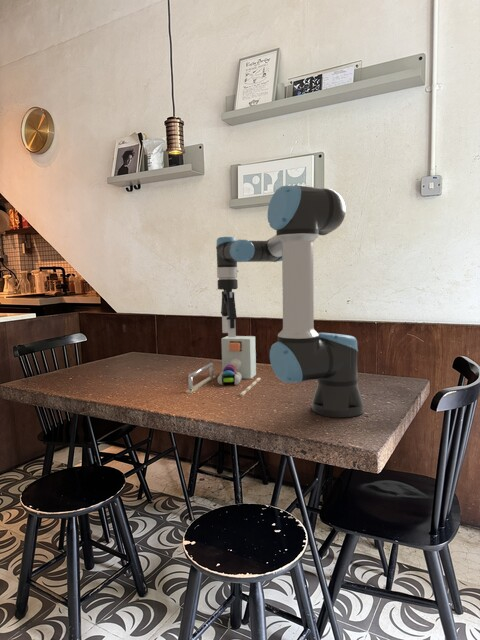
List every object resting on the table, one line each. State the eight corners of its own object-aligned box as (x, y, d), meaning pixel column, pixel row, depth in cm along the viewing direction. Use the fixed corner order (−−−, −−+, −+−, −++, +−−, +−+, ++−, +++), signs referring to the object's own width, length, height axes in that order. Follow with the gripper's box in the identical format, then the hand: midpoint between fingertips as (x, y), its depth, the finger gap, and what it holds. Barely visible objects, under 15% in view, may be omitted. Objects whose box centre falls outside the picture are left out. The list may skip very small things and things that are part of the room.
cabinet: (250, 379, 175) (249, 339, 174) (222, 377, 179) (221, 338, 177) (256, 374, 183) (255, 336, 182) (228, 373, 187) (227, 335, 185)
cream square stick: (242, 396, 151) (242, 394, 151) (239, 395, 151) (239, 394, 151) (260, 379, 174) (260, 377, 174) (258, 379, 175) (258, 377, 175)
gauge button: (238, 351, 173) (238, 343, 173) (229, 350, 174) (228, 343, 174) (241, 349, 176) (240, 342, 176) (231, 349, 177) (231, 342, 177)
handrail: (191, 393, 156) (190, 375, 156) (186, 392, 157) (185, 375, 156) (215, 377, 180) (215, 362, 179) (210, 377, 181) (210, 361, 180)
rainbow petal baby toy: (242, 380, 174) (241, 362, 173) (239, 386, 164) (238, 367, 163) (221, 380, 175) (220, 362, 174) (216, 386, 165) (216, 367, 164)
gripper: (243, 278, 154) (245, 338, 156) (231, 278, 178) (232, 330, 181) (222, 279, 153) (224, 339, 155) (213, 279, 177) (214, 331, 179)
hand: (228, 334), depth 168 cm, fingers open, 13 cm apart
